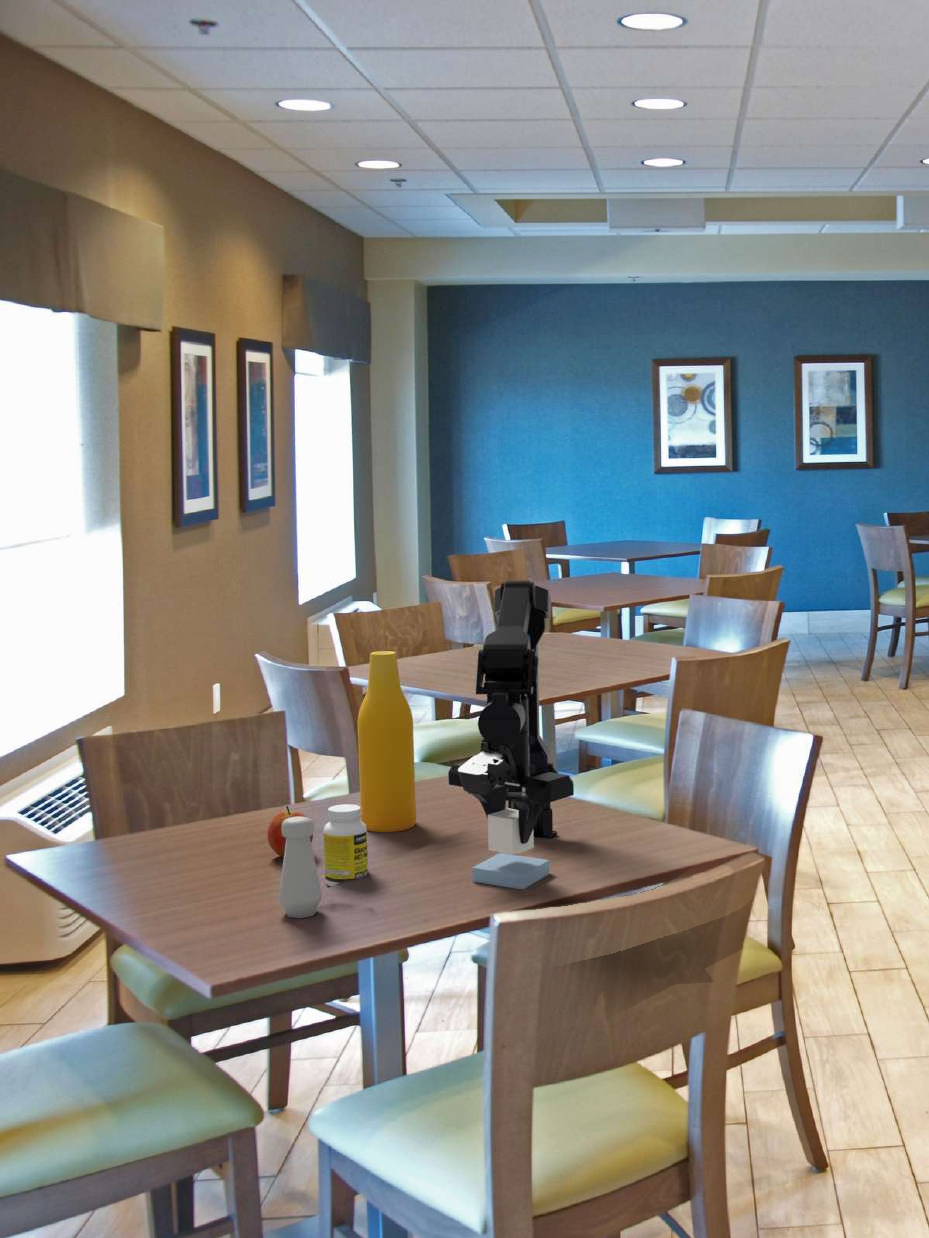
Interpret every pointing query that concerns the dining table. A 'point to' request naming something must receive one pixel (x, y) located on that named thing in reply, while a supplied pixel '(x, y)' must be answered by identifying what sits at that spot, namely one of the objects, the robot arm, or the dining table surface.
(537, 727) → the robot arm
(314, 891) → the salt shaker
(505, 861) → the slate slab
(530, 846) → the cream block
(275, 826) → the fruit
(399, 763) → the beer bottle
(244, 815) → the dining table surface
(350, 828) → the pill bottle
